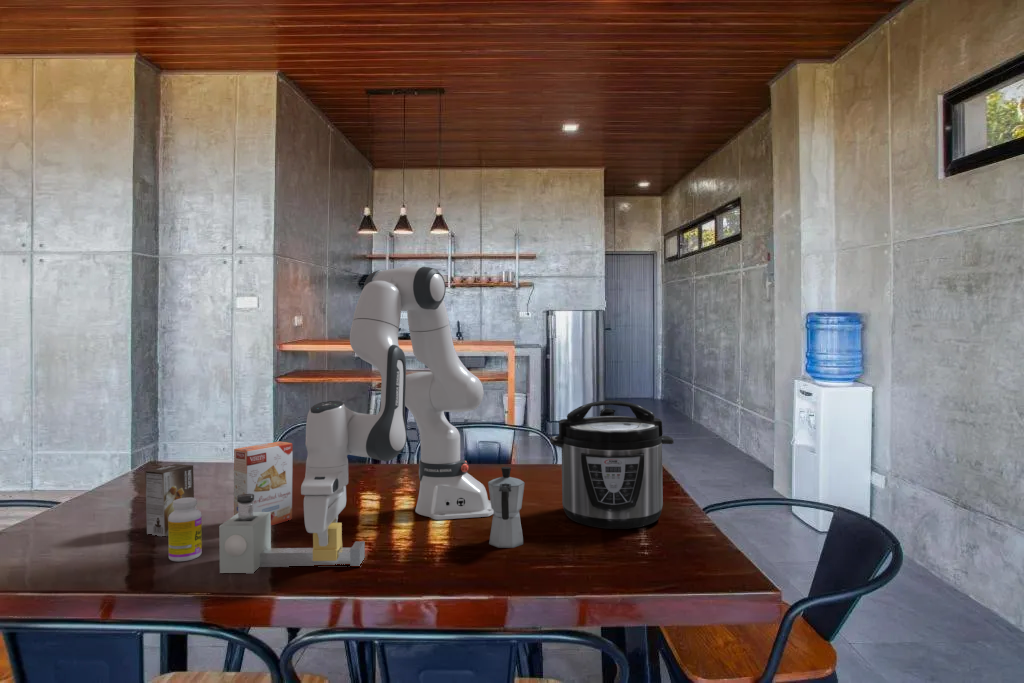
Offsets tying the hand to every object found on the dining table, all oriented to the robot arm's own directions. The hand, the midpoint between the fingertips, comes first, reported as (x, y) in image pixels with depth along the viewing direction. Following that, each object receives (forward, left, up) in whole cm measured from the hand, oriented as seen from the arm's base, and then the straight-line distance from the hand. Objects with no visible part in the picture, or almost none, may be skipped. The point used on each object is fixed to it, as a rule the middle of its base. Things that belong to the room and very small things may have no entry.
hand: (327, 540), depth 136 cm
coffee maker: (-39, -12, -5) cm, 41 cm away
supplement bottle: (+33, -5, -5) cm, 34 cm away
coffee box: (+46, -24, -5) cm, 52 cm away
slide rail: (+5, 0, -5) cm, 7 cm away
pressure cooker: (-68, -32, -5) cm, 75 cm away
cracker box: (+24, -28, -5) cm, 37 cm away
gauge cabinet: (+18, 0, -5) cm, 18 cm away
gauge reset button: (+18, 0, +3) cm, 18 cm away
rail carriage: (0, 0, -3) cm, 3 cm away
